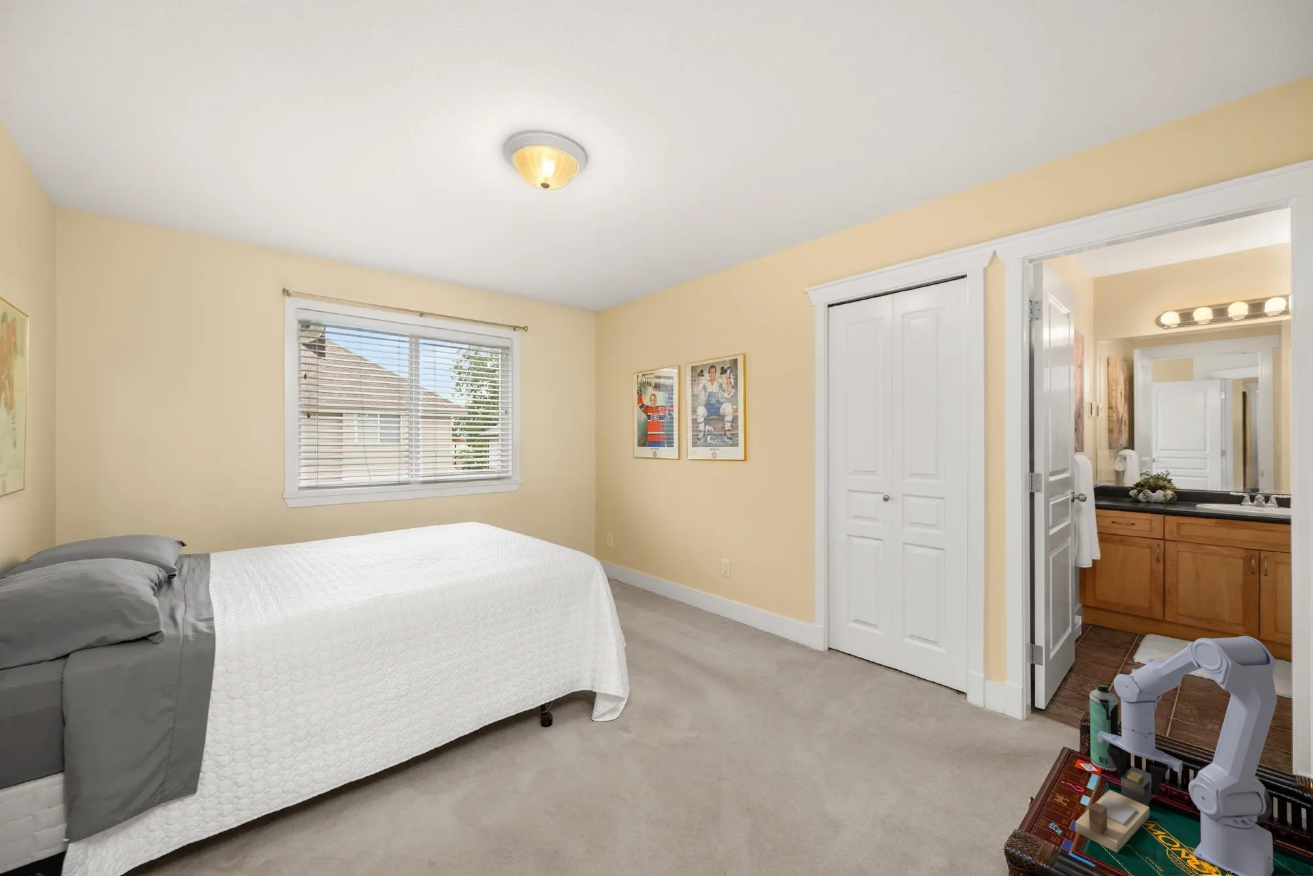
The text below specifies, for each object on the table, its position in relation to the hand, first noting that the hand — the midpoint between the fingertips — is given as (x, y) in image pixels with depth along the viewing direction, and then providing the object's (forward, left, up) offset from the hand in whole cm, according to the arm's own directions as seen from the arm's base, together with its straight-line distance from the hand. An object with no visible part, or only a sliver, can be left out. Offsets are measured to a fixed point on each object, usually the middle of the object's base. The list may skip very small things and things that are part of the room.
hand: (1138, 786), depth 124 cm
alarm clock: (-14, -6, -3) cm, 15 cm away
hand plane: (0, +15, -2) cm, 15 cm away
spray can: (+9, -8, -3) cm, 12 cm away
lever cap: (0, 0, -2) cm, 3 cm away
